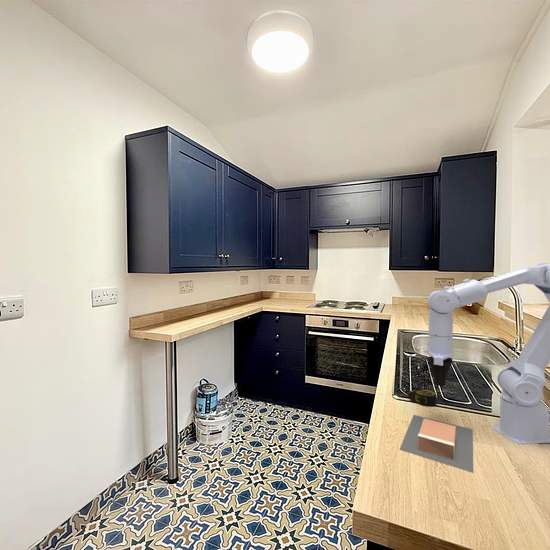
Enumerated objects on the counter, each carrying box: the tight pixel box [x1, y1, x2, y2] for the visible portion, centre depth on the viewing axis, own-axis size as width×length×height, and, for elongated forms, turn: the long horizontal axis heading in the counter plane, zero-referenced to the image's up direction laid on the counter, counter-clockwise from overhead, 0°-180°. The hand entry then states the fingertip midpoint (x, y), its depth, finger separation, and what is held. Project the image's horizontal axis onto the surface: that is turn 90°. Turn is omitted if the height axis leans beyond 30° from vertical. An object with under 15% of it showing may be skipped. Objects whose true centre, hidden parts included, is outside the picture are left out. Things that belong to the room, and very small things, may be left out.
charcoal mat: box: [399, 414, 474, 474], centre depth 72 cm, size 20×14×1 cm
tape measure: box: [407, 388, 438, 407], centre depth 93 cm, size 7×7×4 cm
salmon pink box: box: [418, 419, 456, 460], centre depth 70 cm, size 3×7×10 cm
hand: (439, 385), depth 80 cm, fingers closed
